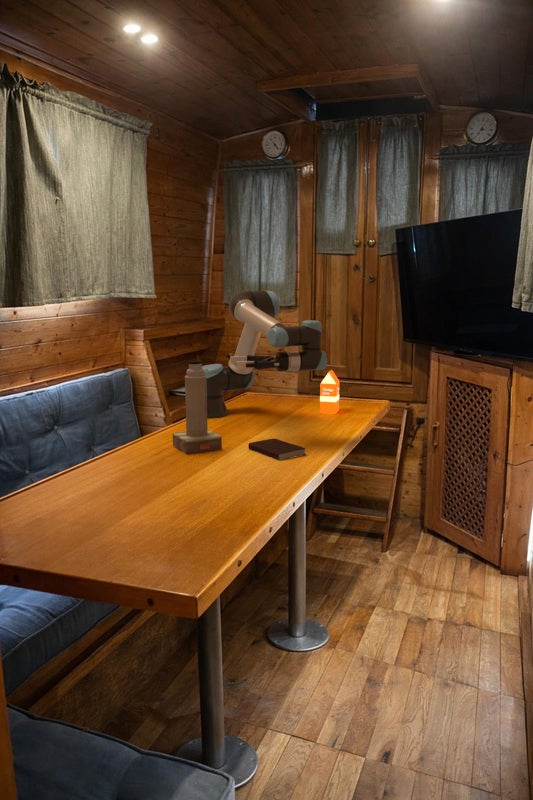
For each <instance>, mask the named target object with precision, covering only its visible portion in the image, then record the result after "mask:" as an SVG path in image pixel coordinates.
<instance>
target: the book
mask: <svg viewBox="0 0 533 800" xmlns="http://www.w3.org/2000/svg"><path fill="white" fill-rule="evenodd" d="M247 447H248V450H251V451H252V452H256V453H258V454H262V455H264V456H266V457H270V458H271V457H272V459H274V460H277V461H282V460H287V459H286V458H289V459H291V458H290V457H294V456H299V455H304V456H306V455H305V454H306V447H303V446H300V445H297V444H294V443H290V442H287V441H284V440H281V439H278V438H268V439H262V440H257V441H252V442H249V443H248V446H247ZM299 457H300V456H299ZM294 458H295V457H294ZM281 459H282V460H281Z"/></svg>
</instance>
